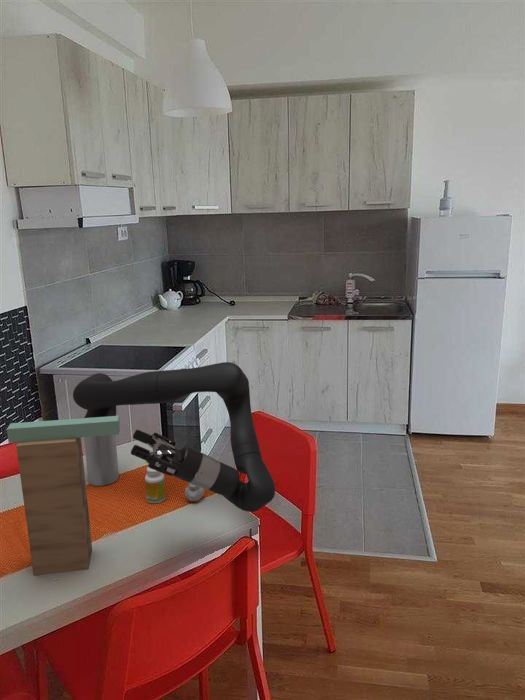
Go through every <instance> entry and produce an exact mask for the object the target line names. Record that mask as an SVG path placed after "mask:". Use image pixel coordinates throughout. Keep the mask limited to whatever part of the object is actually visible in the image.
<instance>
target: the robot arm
mask: <svg viewBox="0 0 525 700" xmlns="http://www.w3.org/2000/svg"><path fill="white" fill-rule="evenodd" d="M195 393H217V395H218V396H219V397H220V399H222V401H223V403H224V405H225V408H226V410H227V412H228V416H229V423H230V446H231V451H232V456H233V460H234V465H235V468H234V467H232V466H230V465H228V464H225V462H224V463H223V462H221V461H219V460H218V459H215V458H214V457H213V456H210V455H208V454H205V453H203V452H201V451H199V450H197V449H194V448H193V447H190V446H187V445H186V446H184V447H182V448H181V449H180V450H179V449H178V448H176V445H177V442H176V441H174V440H172V439H171V438H169V437H166V436H164V435H161V434H159V433H157V432H154V433H153V434H149V433H146V431H145V432H144V431H142V430H140V429H136V430H135V431H134V433H133V435H132V438H133V439H134V440H136V441H139V442H140V443H143V444H145V445H148V446H149V447H150V448H151V449H152V451H151V450H149V449H147V448H145V447H142V446H140V445H138V444H134V445H133V447H132V449H130V450H131V451H130V454H131V455H132V456H134V457H137V458H139V459H142V460H144V461H145V463H146V464H148V465H147V467H149V468H151V469H154V470H156V471H159V472H161V473H163V475H167V476H169V477H174V478H176V479H179V480H182V482H183V481H184V482H186V483H187V484H188V483H191V484H193V485H195V486H198V487H201V488H203V489H204V490H208V491H211V492H212V493H215V494H217V495H220V496H222V497H224V498H225V499H226V500H227V501H228V502H230V503H232V505H233V506H235V507H237V508H238V509H240V510H242V511H245V512H248V513H254V512H258V511H259V510H260V509H262V508H263V507H265V506H266V505H268V504H269V503H270V502H272V501H273V499H274V498H275V495H276V485H275V481H274V479H273V477H272V474H271V472H270V470H269V469H268V467H267V466H266V464H265V462H264V460H263V456H262V452H261V448H260V444H259V440H258V436H257V433H256V429H255V425H254V421H253V415H252V409H251V408H252V406H251V395H250V394H251V393H250V382H249V379H248V377H247V375H246V374H245V373H244V371H243V370H242V368H241V367H240V366H239V365H237V364H236V363H234V362H231V361H230V362H219V363H218V362H217V363H213V364H209V365H202V366H198V367H190V368H181V369H180V368H178V369H167V370H166V369H165V370H156V371H155V370H154V371H152V370H151V371H147V372H142V373H139V374H138V373H137V374H134V375H130V376H128V377H125V378H121V379H118V380H113V379H112V378H111V377H110V376H109V375H107V374H106V373H101V372H98V373H94V374H91V375H90V376H88V377H87V378H84V379H83V380H81V381H79V383H77V385H76V386H75V387H74V389H73V392H72V400H73V401H74V403H75V404H76V405H77V406H78V407H80V408H81V409H84V410H87V411H86V413H85V415H84V417H83V418H94V417H108V416H117V407H119V406H134V405H154V404H155V405H158V404H168V403H173V402H176V401H178V400H180V399H182V398H185V397H186V396H188V395H190V394H195ZM116 438H117V437H116V435H105V436H92V437H83V443H84V453H85V462H86V472H87V474H86V475H87V482H88V483H89V485H92V486H94V487H95V486H97V487H98V486H99V487H102V486H108V485H112V484H113V483H115V482H116V481H118V480H119V478H120V471H119V459H118V449H117V439H116ZM158 466H159V467H158ZM240 474H243V475H246V477H247V482H243V481H242V480H240Z"/></svg>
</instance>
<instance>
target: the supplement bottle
mask: <svg viewBox="0 0 525 700" xmlns="http://www.w3.org/2000/svg"><path fill="white" fill-rule="evenodd" d="M158 467H159V466H158ZM144 484H145V499H146V501H147V502H148V503H151V504H159V503H161V502H164V500H165V499H166V487H165V485H166V483H165V474H164V473H161V472H159V471H156V470H154V469H151V468H149V467H148V466H147V467H146V474H145V477H144Z"/></svg>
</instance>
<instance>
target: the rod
mask: <svg viewBox="0 0 525 700" xmlns="http://www.w3.org/2000/svg"><path fill="white" fill-rule="evenodd" d="M120 431H121V425H120V415H116V416H108V417H94V418H84V417H83V418H69V419H56V420H55V419H53V420H39V421H28V422H14V423H12V422H11V423H10V424H9V425H8V427H7V428H6V434H7V440H8V441H7V442H8V444H10V443H12V444H13V443H18V442H27V441H40V440H53V439H66V438H79V437H81V438H84V437H92V436H105V435H120Z"/></svg>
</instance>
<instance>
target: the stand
mask: <svg viewBox="0 0 525 700" xmlns="http://www.w3.org/2000/svg"><path fill="white" fill-rule="evenodd" d="M16 453H17V461H18V469H19V475H20V478H19V479H20V484H21V491H22V492H21V493H22V500H23V507H24V514H25V523H26V528H27V535H28V542H29V550H30V551H29V552H30V556H31V564H32V565H31V566H32V574H33V576H40V575H49V574H58V573H65V572H66V573H67V572H73V571H75V572H76V571H81V570H89V568H90V564H91V560H92V559H91V558H92V554H93V545H92V544H93V543H92V535H91V532H92V531H91V525H90V514H89V512H90V511H89V504H88V494H87V484H86V474H85V472H86V471H85V466H84V465H85V463H84V454H83V444H82V437H79V438H66V439H53V440H40V441H27V442H17V444H16Z"/></svg>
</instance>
